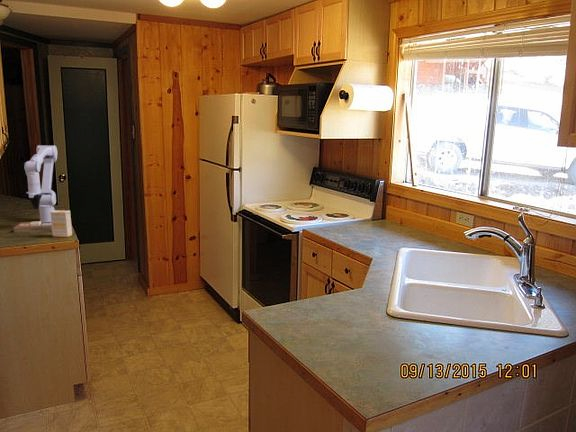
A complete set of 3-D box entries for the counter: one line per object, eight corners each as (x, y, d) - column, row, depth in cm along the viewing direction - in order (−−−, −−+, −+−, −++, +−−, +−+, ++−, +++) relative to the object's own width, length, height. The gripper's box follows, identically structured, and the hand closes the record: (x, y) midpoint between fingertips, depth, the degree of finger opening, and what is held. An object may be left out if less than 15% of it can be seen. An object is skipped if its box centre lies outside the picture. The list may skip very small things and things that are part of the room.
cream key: (32, 225, 263) (32, 221, 263) (41, 225, 264) (41, 221, 264) (30, 227, 259) (30, 223, 259) (39, 226, 260) (38, 222, 260)
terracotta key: (22, 227, 262) (21, 223, 262) (30, 227, 263) (30, 223, 263) (19, 229, 258) (19, 225, 258) (28, 229, 259) (27, 225, 259)
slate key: (44, 226, 265) (43, 223, 264) (52, 226, 265) (52, 222, 265) (41, 228, 261) (41, 224, 260) (50, 228, 261) (50, 224, 261)
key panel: (21, 226, 266) (21, 222, 266) (57, 225, 270) (56, 221, 270) (13, 232, 254) (13, 227, 253) (51, 231, 258) (50, 226, 257)
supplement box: (72, 235, 251) (70, 210, 248) (67, 237, 246) (65, 212, 243) (57, 234, 251) (55, 209, 249) (52, 237, 247) (49, 211, 244)
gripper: (29, 182, 266) (32, 206, 269) (21, 185, 252) (23, 211, 255) (43, 181, 268) (46, 206, 271) (36, 185, 254) (38, 211, 257)
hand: (36, 208), depth 263 cm, fingers closed
